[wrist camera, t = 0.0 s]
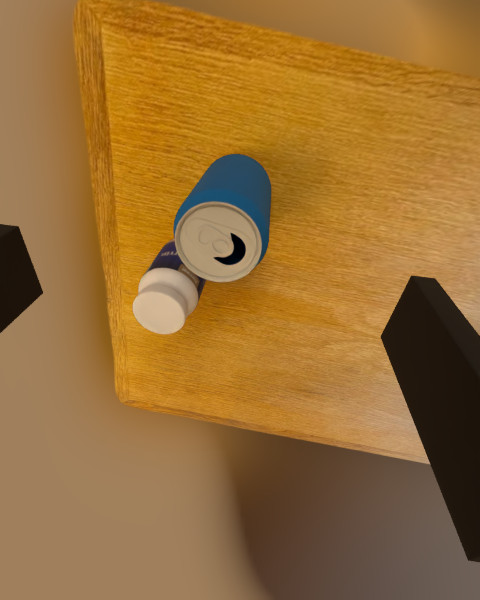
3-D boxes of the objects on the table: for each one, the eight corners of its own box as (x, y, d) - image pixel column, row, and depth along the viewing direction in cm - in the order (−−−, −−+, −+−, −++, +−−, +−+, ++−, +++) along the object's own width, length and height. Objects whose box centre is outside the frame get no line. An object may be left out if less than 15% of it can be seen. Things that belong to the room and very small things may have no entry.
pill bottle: (217, 246, 33) (198, 301, 25) (204, 286, 36) (183, 346, 28) (165, 228, 32) (129, 278, 24) (157, 271, 36) (122, 327, 28)
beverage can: (246, 233, 32) (233, 302, 22) (192, 197, 30) (152, 255, 20) (285, 180, 28) (289, 235, 19) (226, 136, 26) (197, 171, 17)
